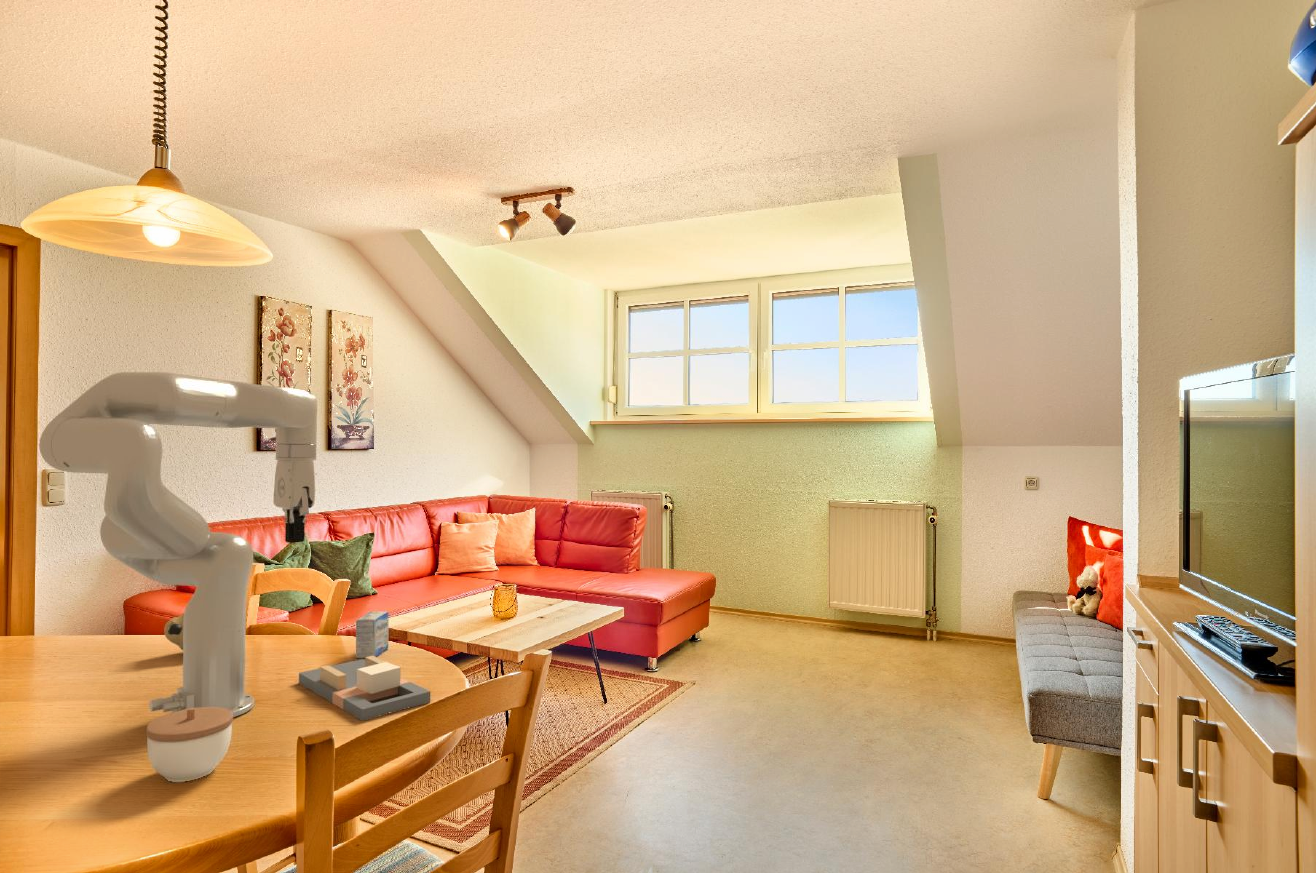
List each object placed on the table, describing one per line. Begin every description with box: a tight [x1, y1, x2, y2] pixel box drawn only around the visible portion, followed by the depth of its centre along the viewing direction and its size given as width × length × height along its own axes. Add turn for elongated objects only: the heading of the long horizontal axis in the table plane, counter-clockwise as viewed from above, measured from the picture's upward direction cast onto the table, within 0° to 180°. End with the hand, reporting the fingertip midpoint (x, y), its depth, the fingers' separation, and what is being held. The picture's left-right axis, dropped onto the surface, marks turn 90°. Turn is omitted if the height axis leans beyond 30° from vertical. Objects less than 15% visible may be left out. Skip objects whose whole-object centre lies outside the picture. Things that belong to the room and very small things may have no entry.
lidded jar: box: [145, 707, 234, 783], centre depth 109 cm, size 11×11×9 cm
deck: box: [298, 656, 431, 722], centre depth 143 cm, size 13×28×4 cm, turn 47°
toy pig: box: [163, 612, 184, 651], centre depth 166 cm, size 10×12×11 cm
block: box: [357, 661, 402, 694], centre depth 141 cm, size 6×5×4 cm
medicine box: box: [355, 611, 390, 659], centre depth 168 cm, size 8×4×9 cm, turn 179°
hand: (294, 541), depth 154 cm, fingers closed
